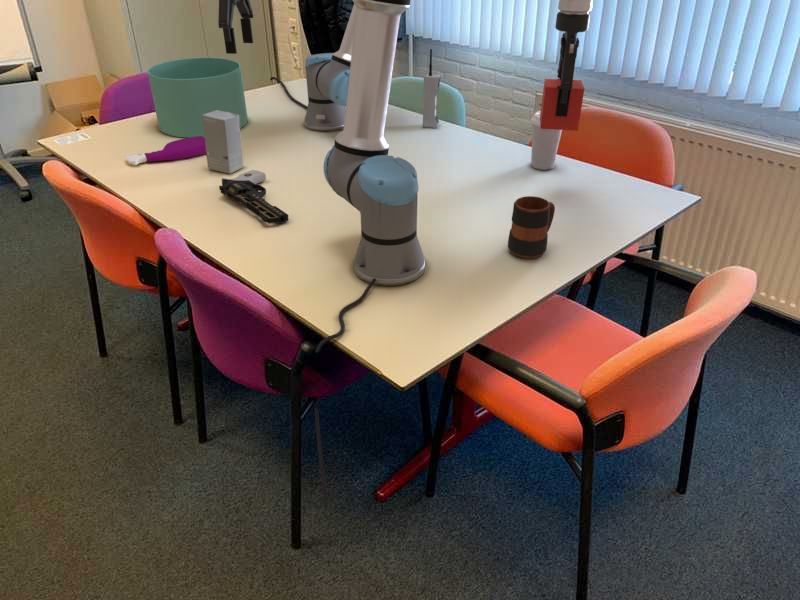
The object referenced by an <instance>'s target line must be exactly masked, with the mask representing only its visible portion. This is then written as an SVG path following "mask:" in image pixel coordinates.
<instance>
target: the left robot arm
mask: <svg viewBox="0 0 800 600" xmlns="http://www.w3.org/2000/svg"><path fill="white" fill-rule="evenodd" d="M235 6H236V8H237V10H238V12H239V15H240V17H241V18H240V28H241V35H242V43H243V44H253V43H254V39H253V37H254V36H253V29H252V21H251V19H254V13H253V8H252V6H251V2H250V0H218V20H217V21H218V24H217V25H218V28H219V29H222V33H223V40H224V46H225V53H226V54H230V55H233V54H234V55H236V54H237V53H238V50H237V44H236V37H235V29H234V27H233V20H234V12H235ZM356 11H357V8H356V5H355V4H354V3H353V6H352V10H351V12H350V16H349V19H348V22H347V25H346V28H345V31H344V35H343V38H342V41H341V44H340V47H339V49H338V50H337V51H335V52H325V53H316V54H310V55H308V56H306V58H305V66H304V69H305V77H306V89H307V102H308V103H307V105H306V104H304V103H302V102H300V101H298V99H296V98H294V97H293V96H292V95H291V93H290V92H289V91H288V89H287V87H286V85H285V83H284V82H283V81H281V80H280V79H279V78H277V77H276V76H271V77H270V78H269V80H270V81H273V80H275V82H277V83H279V84H280V85H281V87H282V88H283V89H284V92H285V94H286V95H287V96H288V98H289V99H290V100H291V101H293V102H294V103H295V104H297V105H299V106H301V107H302V108H304V109H306V111H305V116H304V126H305V128H307V129H308V130H312V131H316V132H335V131H340V130H343V128H344V119H345V110H346V101H347V92H348V83H349V74H350V65H351V56H352V47H353V38H354V29H355V20H356Z"/></svg>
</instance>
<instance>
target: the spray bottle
mask: <svg viewBox="0 0 800 600" xmlns="http://www.w3.org/2000/svg"><path fill="white" fill-rule="evenodd" d="M202 155H207V154H206V144H205V137H203V136H196V137H190V138H185V137H184V138H180V139H176V140H172V141H170V142H168V143H166V144H165V145H164V146H163V148H162V149H161V150H156V151H152V152H145V153H143V152H140V153H138V154H134V155H133V154H124V159H125V160H126V162H128V163H129V164H130V165H132V166H137V165H138V164H139V165H140V164H142V163H146V162H158V161H161V162H162V161H177V160H185V159H188V158H194V157H198V156H202Z"/></svg>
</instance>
